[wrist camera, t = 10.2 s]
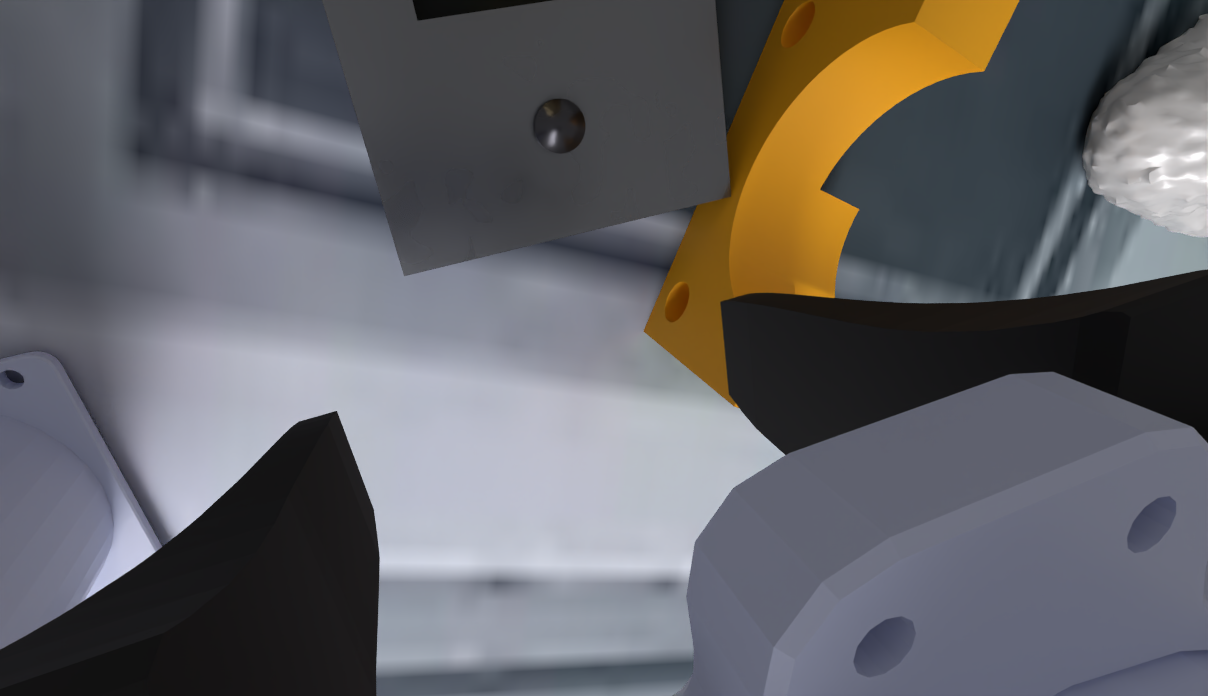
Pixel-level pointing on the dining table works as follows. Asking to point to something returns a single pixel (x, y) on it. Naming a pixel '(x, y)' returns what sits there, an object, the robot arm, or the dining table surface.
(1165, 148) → the sitting furry creature
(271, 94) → the dining table surface
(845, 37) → the pipe clamp
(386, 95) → the metal plate with hole
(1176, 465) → the robot arm
